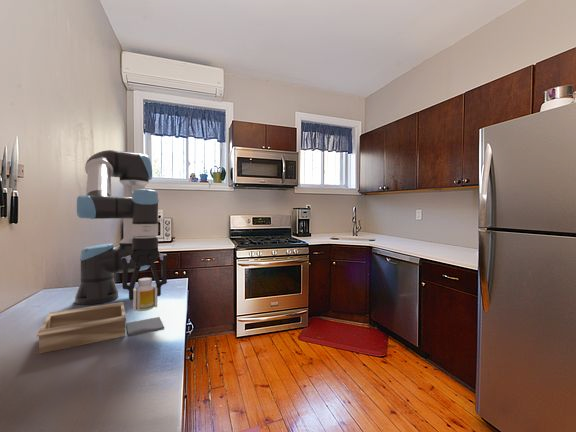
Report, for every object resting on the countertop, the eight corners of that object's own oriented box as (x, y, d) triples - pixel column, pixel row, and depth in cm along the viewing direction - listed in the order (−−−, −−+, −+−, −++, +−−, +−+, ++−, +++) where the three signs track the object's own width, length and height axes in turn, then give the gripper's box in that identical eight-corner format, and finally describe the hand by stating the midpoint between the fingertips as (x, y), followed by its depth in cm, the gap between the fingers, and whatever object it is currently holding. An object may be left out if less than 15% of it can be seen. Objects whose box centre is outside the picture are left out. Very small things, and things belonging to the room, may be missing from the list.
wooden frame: (49, 331, 85) (49, 312, 84) (123, 318, 95) (123, 301, 95) (36, 358, 69) (36, 335, 69) (125, 339, 80) (126, 319, 80)
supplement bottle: (158, 306, 91) (158, 277, 91) (144, 312, 86) (144, 281, 85) (145, 304, 92) (145, 276, 92) (131, 310, 87) (131, 280, 87)
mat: (126, 324, 90) (126, 322, 90) (159, 318, 96) (159, 316, 96) (128, 336, 82) (128, 334, 82) (164, 328, 88) (164, 326, 88)
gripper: (111, 239, 81) (111, 317, 81) (177, 236, 91) (177, 306, 91) (111, 237, 87) (111, 309, 87) (173, 235, 97) (172, 300, 97)
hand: (145, 307), depth 89 cm, fingers closed on supplement bottle, 5 cm apart
